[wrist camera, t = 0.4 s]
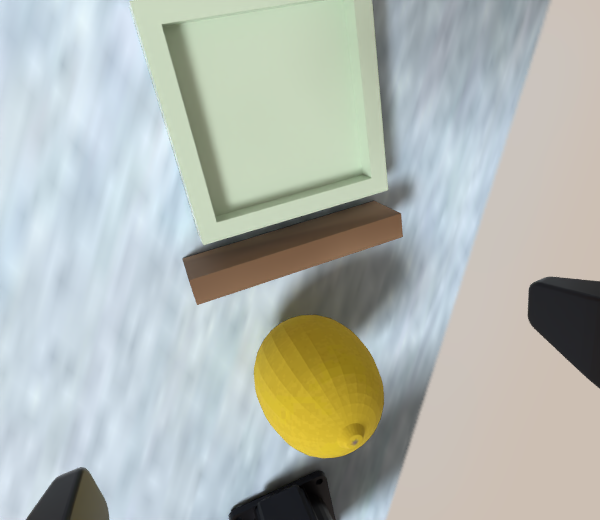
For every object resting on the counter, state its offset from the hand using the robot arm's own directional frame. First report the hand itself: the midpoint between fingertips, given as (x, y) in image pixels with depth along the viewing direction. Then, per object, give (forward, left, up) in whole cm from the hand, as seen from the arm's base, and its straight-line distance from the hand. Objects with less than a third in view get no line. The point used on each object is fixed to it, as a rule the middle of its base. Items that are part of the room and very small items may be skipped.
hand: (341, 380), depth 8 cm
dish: (+4, -3, -13) cm, 14 cm away
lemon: (-8, -2, -13) cm, 15 cm away
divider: (-2, -3, -13) cm, 13 cm away
